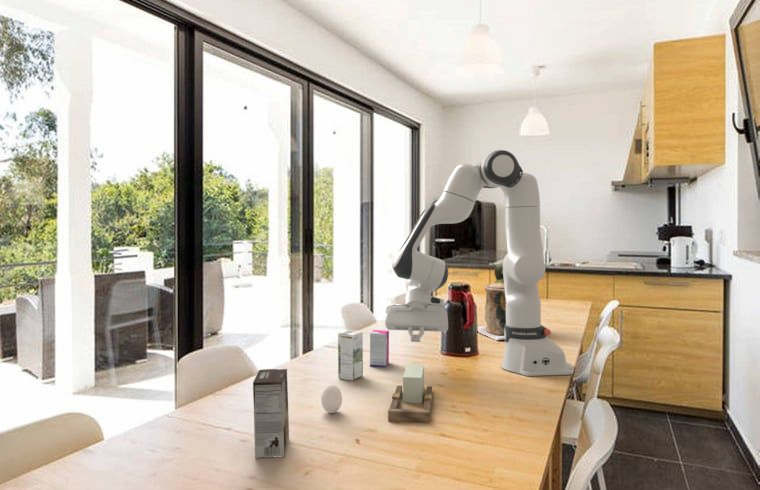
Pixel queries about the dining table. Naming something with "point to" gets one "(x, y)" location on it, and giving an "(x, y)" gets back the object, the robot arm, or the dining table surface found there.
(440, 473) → the dining table surface
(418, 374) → the block
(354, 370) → the syrup box
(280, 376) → the coffee box
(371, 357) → the supplement box
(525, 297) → the robot arm
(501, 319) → the cookie jar
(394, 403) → the slot track
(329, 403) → the egg
